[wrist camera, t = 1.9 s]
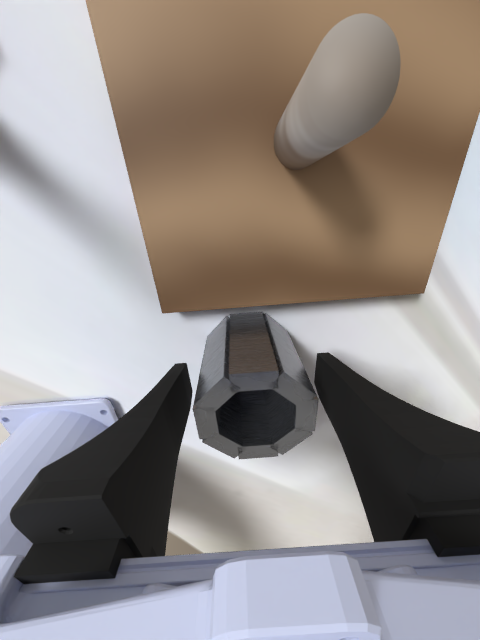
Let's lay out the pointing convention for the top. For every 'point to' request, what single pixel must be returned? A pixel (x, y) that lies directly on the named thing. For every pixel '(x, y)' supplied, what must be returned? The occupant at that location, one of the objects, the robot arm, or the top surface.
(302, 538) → the top surface
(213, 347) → the collar
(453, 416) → the top surface
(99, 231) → the top surface
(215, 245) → the post board
